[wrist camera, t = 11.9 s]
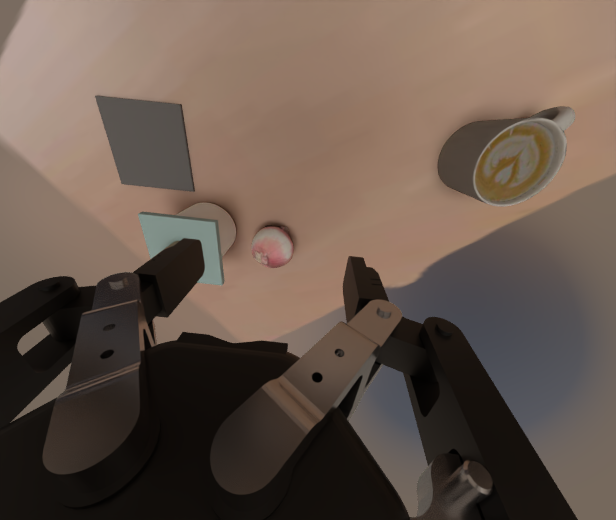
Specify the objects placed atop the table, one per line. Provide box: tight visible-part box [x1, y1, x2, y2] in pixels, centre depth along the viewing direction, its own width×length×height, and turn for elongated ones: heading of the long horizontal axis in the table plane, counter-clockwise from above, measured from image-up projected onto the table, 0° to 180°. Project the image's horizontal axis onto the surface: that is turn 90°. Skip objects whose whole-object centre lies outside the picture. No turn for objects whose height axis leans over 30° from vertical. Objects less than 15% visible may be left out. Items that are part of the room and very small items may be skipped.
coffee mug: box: [438, 106, 575, 206], centre depth 31 cm, size 13×10×10 cm
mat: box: [95, 96, 195, 192], centre depth 38 cm, size 13×13×1 cm
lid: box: [138, 212, 224, 285], centre depth 33 cm, size 11×11×6 cm
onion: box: [252, 226, 294, 268], centre depth 42 cm, size 8×8×7 cm
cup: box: [176, 202, 236, 257], centre depth 40 cm, size 10×10×10 cm
